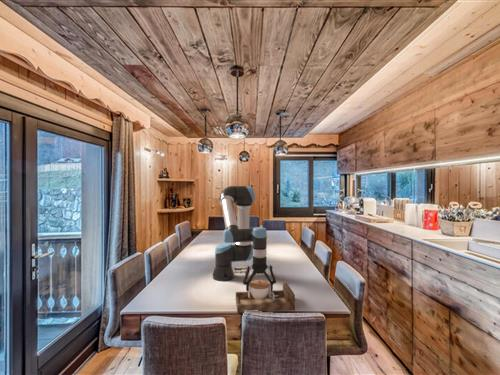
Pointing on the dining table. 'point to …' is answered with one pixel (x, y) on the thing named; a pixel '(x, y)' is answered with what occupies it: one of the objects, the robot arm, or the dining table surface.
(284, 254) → the dining table surface
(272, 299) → the pusher
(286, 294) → the wooden tray
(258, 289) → the lidded jar
